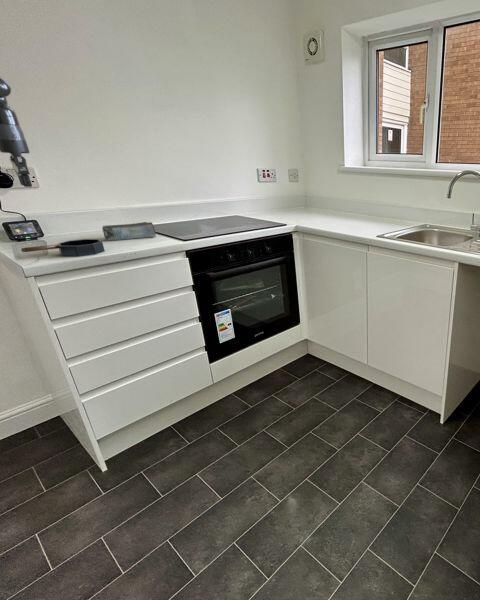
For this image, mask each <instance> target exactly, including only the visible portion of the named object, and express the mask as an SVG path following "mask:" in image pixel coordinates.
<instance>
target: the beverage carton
mask: <svg viewBox="0 0 480 600" xmlns="http://www.w3.org/2000/svg"><path fill="white" fill-rule="evenodd" d="M102 232H103V237H104V239H105V241H106V242H108V241H121V240H131V239H132V240H134V239H145V238H156V228H155V226H154V224H153V222H152V221H151V222H150V221H149V222H147V221H143V222H135V223H123V224H109V225H108V224H107V225H102Z"/></svg>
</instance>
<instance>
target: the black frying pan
mask: <svg viewBox="0 0 480 600" xmlns="http://www.w3.org/2000/svg"><path fill="white" fill-rule="evenodd" d="M56 249H58V251H59V255H61V256H62V257H65V258H66V257H68V258H69V257H70V258H71V257H74V258H77V257H85V256H94V255H98V254H101V253H104V252H105V251H106V250H105V246H104V243H103V241H102V240H101V239H98V238H95V239H94V238H84V239H83V238H82V239H75V240H73V239H72V240H66V241H62V242H58V243H54V244H45V245H36V246H26V247H22V248H21V249H20V251H21V252H23V253H31V252H40V251H47V250H56Z"/></svg>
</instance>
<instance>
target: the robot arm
mask: <svg viewBox="0 0 480 600" xmlns="http://www.w3.org/2000/svg"><path fill="white" fill-rule="evenodd" d="M11 93H12V87H11V85H10V84H9V82H8V81H7V80H6V79H5V78H3V76H0V153H2V154H3V153H4V154H9V155H10V156H9V162H10V164H11V165H12V166H11V167H12V169H13V170H14V172H15V174H16V175H17V178H18V180H19V183H20V185H21V186H23V187H25V188H31V187H33V184H32V182H31V181H32V180H31V178H30V171H29V166H28V162H27V159H26V158H25V157H24V156H23V155H22V154H30V149H29V146H28V143H27V141H26V137H25V134H24V131H23V130H22V127H21V125H20V121H19V120H18V115H17V113H16V111H15V110H14V109H13V108H12V107H11V106H10V104H9V101H8V99H7V97H9V96H10V95H11Z"/></svg>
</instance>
